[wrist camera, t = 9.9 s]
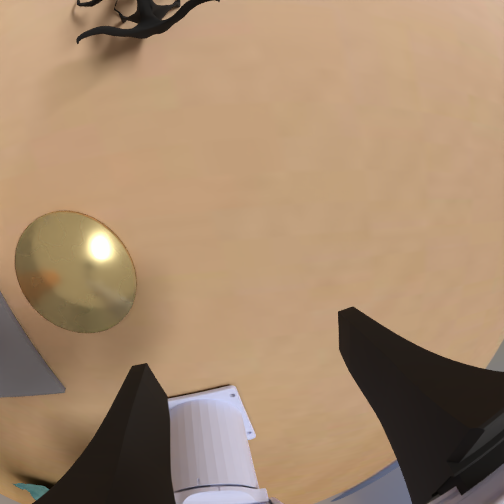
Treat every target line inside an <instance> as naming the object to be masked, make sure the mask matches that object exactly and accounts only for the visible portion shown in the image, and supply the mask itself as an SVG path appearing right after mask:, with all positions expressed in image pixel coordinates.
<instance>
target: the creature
mask: <svg viewBox="0 0 504 504" xmlns="http://www.w3.org/2000/svg"><path fill="white" fill-rule="evenodd" d="M101 1H102V0H92V1H90V2H85V3H80V0H77V5H78V6H84V7H92V6H94V5H96V4H98V3H99V2H101ZM117 1H118V0H117ZM207 1H212V0H189V1H188V2H186V3H185V4H184V5H183V6H182V7H181V8H180V9H179V10H178V11H177V12H176V13H175V14H174V15H173V16H172V17H170V18H168V19H166V20H161V19H162V18H163V17H164V16H165V15H166V13H167V12H168V11H169V10H170V9H171V8H173V7H174V6H176V7H180V0H177V2H176V1H175V2H174V3H173V4H172V5H163V6H161V5H156V4H155V3H154V2H153V0H137V11H136V13H135V14H133V15H131V16H129V17H125V16H123V15H122V14H121V13H120V12H119V11H117V10H116V9H115V7H114V10H115V11H116V12H118V13H119V15H120V17H121V20H122V22H123V23H125V22H126V20H128V21H132V22H135V23H138V25H137V26H135V27H134V28H132V29H120V28H116V27H112V26H100V27H96V28H93V29H91V30H88V31H86V32H84V33H82V34H81V35H80V36H78V38H77V44H78V43H79V41H80V40H81V39H83V38H86V37H88V36H92V35H97V34H107V35H112V36H122V37H134V38H139V39H143V38H148V37H150V36H152V35H154V34H161V33H163V32H165V31H167V30H168V29H169V28H170V27H171V26H172V25H173V24H175V23H176V22H178V21H179V20H181V19H182V18H183V17H185V15H186V14H187V13H188V12H189V11H190V10H192V9H193V8H194V7H196V6H197V5H199V4H201V3H204V2H207ZM216 1H218V2H220V0H216ZM116 3H117V2H116ZM115 6H116V4H115Z"/></svg>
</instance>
